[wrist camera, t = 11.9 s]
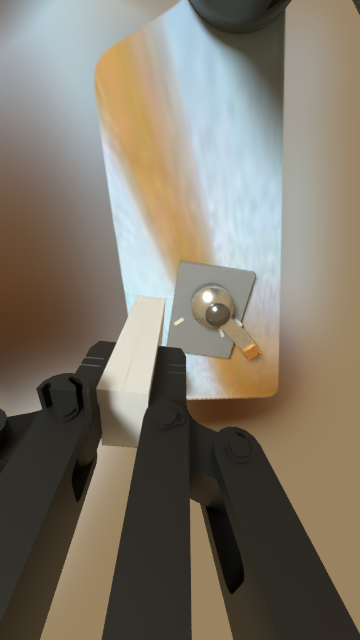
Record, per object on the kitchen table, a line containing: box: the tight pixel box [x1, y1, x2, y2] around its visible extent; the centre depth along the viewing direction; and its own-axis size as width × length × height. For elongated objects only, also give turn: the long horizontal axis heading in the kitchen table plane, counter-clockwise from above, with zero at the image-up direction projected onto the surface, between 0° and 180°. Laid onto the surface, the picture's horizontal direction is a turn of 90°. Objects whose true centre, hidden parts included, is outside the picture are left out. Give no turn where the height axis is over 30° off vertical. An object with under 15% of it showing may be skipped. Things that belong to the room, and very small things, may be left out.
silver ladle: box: [191, 283, 261, 360], centre depth 40 cm, size 16×7×4 cm, turn 41°
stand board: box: [166, 260, 256, 358], centre depth 42 cm, size 18×14×2 cm
